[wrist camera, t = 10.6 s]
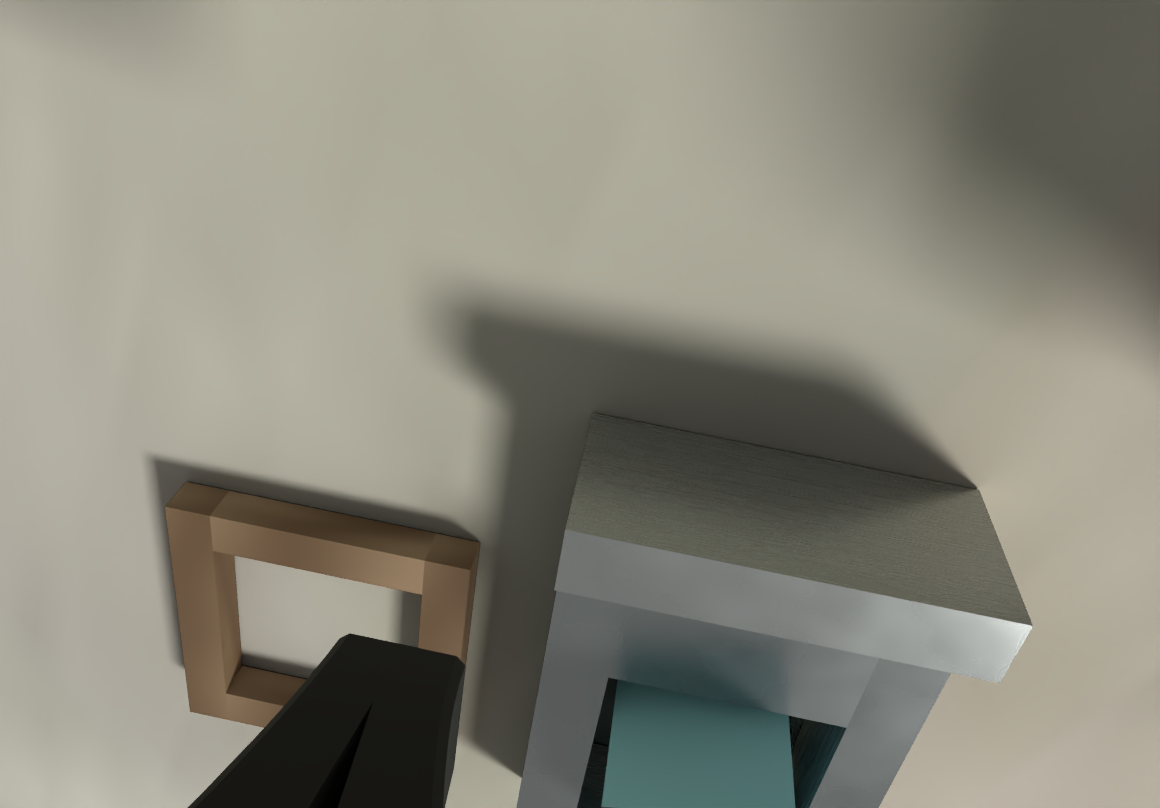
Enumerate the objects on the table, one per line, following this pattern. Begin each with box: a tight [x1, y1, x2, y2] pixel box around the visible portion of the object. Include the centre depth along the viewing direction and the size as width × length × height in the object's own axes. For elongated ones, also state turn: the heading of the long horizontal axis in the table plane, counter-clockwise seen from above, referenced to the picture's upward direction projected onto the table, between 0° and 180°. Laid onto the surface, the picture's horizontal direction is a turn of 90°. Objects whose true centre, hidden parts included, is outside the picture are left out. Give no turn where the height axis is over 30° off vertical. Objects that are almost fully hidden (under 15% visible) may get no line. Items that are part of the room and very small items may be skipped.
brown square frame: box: [165, 482, 480, 728], centre depth 24 cm, size 7×7×1 cm
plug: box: [601, 680, 795, 808], centre depth 22 cm, size 4×4×6 cm
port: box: [517, 413, 1033, 808], centre depth 21 cm, size 8×13×4 cm, turn 171°
